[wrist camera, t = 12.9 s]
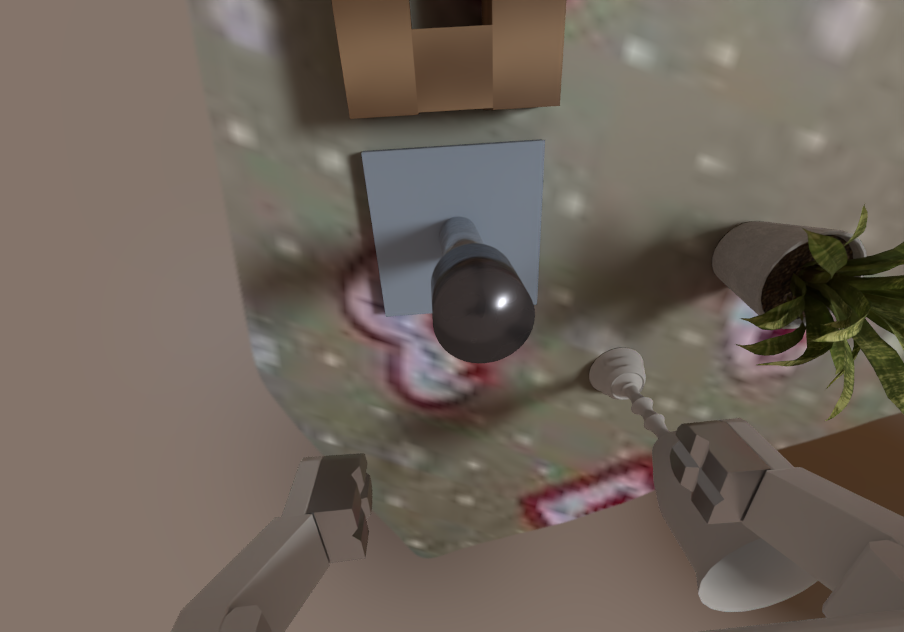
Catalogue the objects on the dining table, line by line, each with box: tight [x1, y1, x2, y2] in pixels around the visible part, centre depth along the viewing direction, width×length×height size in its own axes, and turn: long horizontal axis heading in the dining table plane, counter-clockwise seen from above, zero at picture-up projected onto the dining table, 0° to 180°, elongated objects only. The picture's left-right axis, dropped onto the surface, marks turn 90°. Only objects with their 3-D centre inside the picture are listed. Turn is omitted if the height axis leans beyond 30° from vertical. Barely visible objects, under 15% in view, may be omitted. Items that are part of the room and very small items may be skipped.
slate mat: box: [361, 139, 545, 317], centre depth 29 cm, size 12×12×1 cm
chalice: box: [589, 348, 818, 612], centre depth 28 cm, size 7×7×18 cm
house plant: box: [712, 204, 904, 421], centre depth 24 cm, size 14×14×16 cm
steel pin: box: [431, 217, 535, 363], centre depth 23 cm, size 4×4×13 cm
